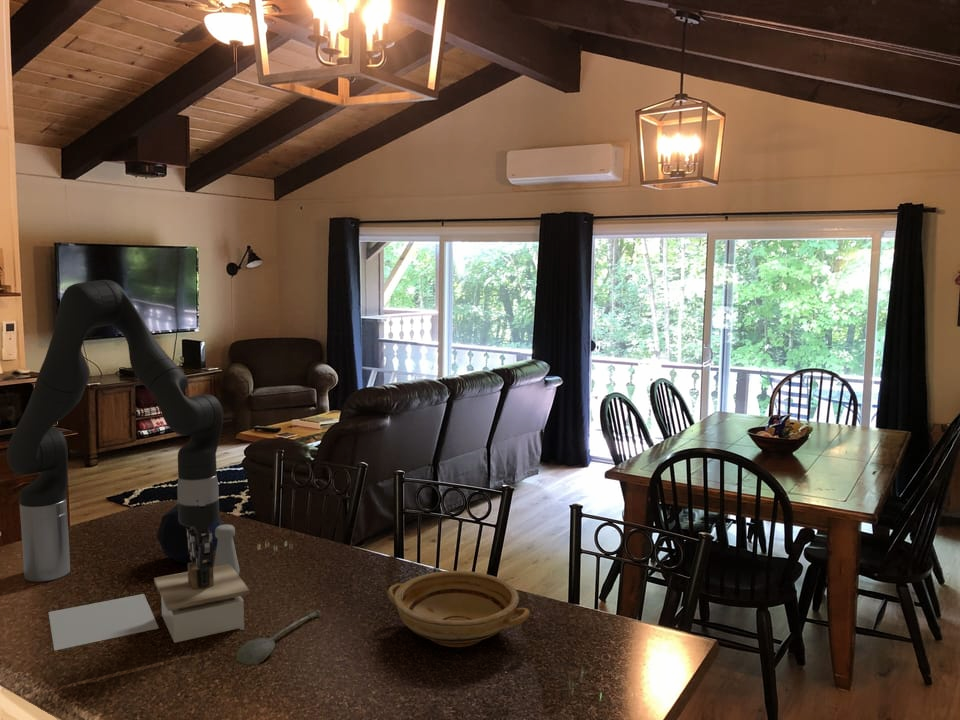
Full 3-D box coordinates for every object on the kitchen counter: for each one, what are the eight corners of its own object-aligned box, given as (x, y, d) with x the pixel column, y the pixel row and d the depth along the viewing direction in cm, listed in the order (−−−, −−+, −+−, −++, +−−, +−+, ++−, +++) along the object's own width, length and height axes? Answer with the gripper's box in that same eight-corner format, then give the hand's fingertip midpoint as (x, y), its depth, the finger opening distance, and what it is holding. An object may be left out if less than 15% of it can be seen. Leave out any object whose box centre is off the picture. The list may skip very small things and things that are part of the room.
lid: (154, 581, 161) (153, 558, 160) (230, 567, 168) (229, 545, 168) (167, 610, 148) (167, 586, 147) (249, 594, 156) (249, 570, 155)
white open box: (162, 618, 161) (160, 589, 160) (227, 604, 168) (227, 577, 167) (174, 645, 150) (173, 615, 149) (244, 629, 157) (243, 600, 156)
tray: (48, 614, 162) (48, 612, 162) (144, 596, 171) (144, 593, 171) (54, 653, 147) (54, 650, 147) (158, 631, 156) (158, 628, 156)
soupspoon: (227, 665, 146) (255, 675, 143) (227, 648, 145) (255, 658, 142) (305, 613, 165) (331, 621, 162) (305, 598, 165) (331, 606, 162)
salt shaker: (231, 588, 176) (230, 531, 174) (207, 586, 177) (205, 529, 175) (244, 578, 181) (243, 523, 180) (221, 576, 182) (219, 520, 181)
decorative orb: (208, 520, 203) (174, 483, 194) (246, 533, 195) (213, 494, 186) (169, 567, 195) (132, 530, 186) (207, 582, 187) (170, 544, 178)
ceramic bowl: (547, 622, 162) (548, 584, 161) (504, 679, 140) (505, 636, 139) (417, 595, 174) (417, 560, 173) (358, 645, 151) (358, 605, 150)
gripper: (171, 491, 160) (174, 573, 162) (185, 511, 148) (188, 599, 150) (209, 485, 164) (212, 566, 166) (227, 505, 152) (229, 591, 154)
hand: (201, 581), depth 158 cm, fingers closed on lid, 4 cm apart
